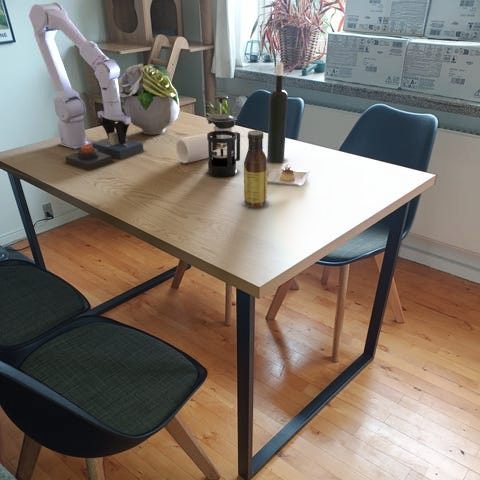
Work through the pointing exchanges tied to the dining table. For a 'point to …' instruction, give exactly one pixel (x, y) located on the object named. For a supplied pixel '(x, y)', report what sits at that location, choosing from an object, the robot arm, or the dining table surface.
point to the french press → (222, 158)
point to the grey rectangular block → (113, 138)
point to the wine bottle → (277, 119)
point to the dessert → (287, 176)
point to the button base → (88, 159)
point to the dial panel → (119, 148)
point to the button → (87, 148)
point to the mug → (192, 148)
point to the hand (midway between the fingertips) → (117, 141)
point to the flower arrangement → (149, 98)
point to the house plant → (224, 111)
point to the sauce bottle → (255, 171)
